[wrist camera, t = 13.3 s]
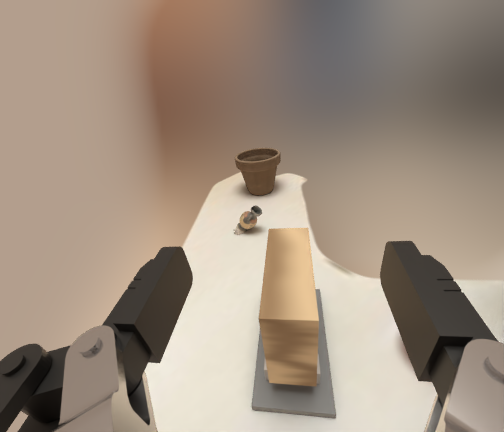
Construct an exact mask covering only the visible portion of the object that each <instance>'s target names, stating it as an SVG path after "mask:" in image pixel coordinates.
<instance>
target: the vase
mask: <svg viewBox="0 0 504 432" xmlns="http://www.w3.org/2000/svg"><path fill="white" fill-rule="evenodd" d="M261 214H262V210H261V209H260V208H259V207H258V206H253V207H252V208H251V212H249V211H247V212H244V213H243V214H242V215H241V217H240V223H238V225H237V228H235V230H234V231H235V232H234V233H235V234H237V235H238V234H239V235H240V234H241V233H242V234H243V232H245V231H246V230H247V229H250V228H252V227H254V226H255V224H256V223H257V217H256V216H260V215H261Z"/></svg>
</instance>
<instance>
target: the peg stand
mask: <svg viewBox="0 0 504 432" xmlns="http://www.w3.org/2000/svg"><path fill="white" fill-rule="evenodd" d="M315 291H316V300H317V308H318V317H319V333H318V360H317V387H316V386H303V385H290V384H277V383H269V378H268V372H267V366H266V359H265V353H264V347H263V341H262V335H261V329H260V334H259V343H258V353H257V362H256V371H255V380H254V389H253V399H252V409H253V410H261V411H270V412H280V413H290V414H300V415H310V416H320V417H330V418H335V417H336V412H335V404H334V396H333V388H332V381H331V373H330V365H329V358H328V350H327V342H326V334H325V327H324V319H323V311H322V303H321V296H320V289H315Z"/></svg>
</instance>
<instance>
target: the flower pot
mask: <svg viewBox="0 0 504 432" xmlns="http://www.w3.org/2000/svg"><path fill="white" fill-rule="evenodd" d="M235 162H236V167H237V168H238V169H240V170H241V173H242V175H243V178H244V180H245V183H246V186H247V188H248V190H249V192H250V193H251V194H254V195H264V194H268V193H270V192H271V191H272V190H273V186H274V181H275V175H276V169H277V165H278V164H279V163H280V152H279V151H278V150H276V149H272V148H257V149H250V150H247V151H243V152H241V153H239V154H237V155H236V157H235Z"/></svg>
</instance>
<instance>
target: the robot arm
mask: <svg viewBox="0 0 504 432" xmlns="http://www.w3.org/2000/svg"><path fill="white" fill-rule="evenodd" d="M380 278H381V285H382V288H383V291H384V293H385V296H386V298H387V301H388V304H389V306H390V309H391V311H392V314H393V317H394V319H395V322H396V324H397V327H398V329H399V332H400V335H401V337H402V340H403V342H404V345H405V348H406V350H407V353H408V355H409V358H410V360H411V363H412V366H413V368H414V371H415V373H416V376H417V379H418V381H428V382H433V385H434V387H435V389H436V392H437V395H436V397H435V400H434V403H433V406H432V409H431V412H430V415H429V418H428V421H427V424H426V427H425V430H424V432H504V344H502V343H500V342H498V341H497V339H496V338H495V337H494V335H493V334H492V333H491V331H490V330H489V328H488V327H487V326H486V324H485V323H484V321H483V320H482V318H481V317H480V316H479V314H478V313H477V311H476V310H475V309H474V307H473V306H472V304H471V303H470V302H469V300H468V299H467V297H466V296H465V294H464V293H462V292H461V289H460V287H459V286H458V285H457V283H456V282H454V281H453V278H452V276H451V275H450V273H449V272H448V270H447V269H446V268H445V266H444V265H442V264H441V263H440V262H438V261H437V260H436V259H434V258H433V257H432V256H430V255H421V254H420V252H419V250H418V249H417V247H416V246H415V244H414V243H413V242H412V241H393V242H392V241H391V242H387V243H386V246H385V251H384V256H383V261H382V266H381V272H380ZM192 280H193V276H192V271H191V268H190V266H189V263H188V261H187V258H186V255H185V253H184V250H183V248H182V247H163V248H161V250H160V251H159V252H158V254H157V255H156V257H155V258H154V259H151V260H150V261H149V262H147V263H146V264H145V265H144V266H143V267H142V268H140V270H139V272H138V273H137V274H136V276H135V277H134V281H132V282H131V284H130V285H129V286H128V289H127V290H126V291H125V292H124V294H123V295H122V297H121V298H120V300H119V301H118V303H117V304H116V305H115V307H114V309H113V310H112V311H111V313H110V314H109V316H108V317H107V319H106V320H105V322H104V323H103V325H102V326H97V327H94V328H92V329H90V330H88V331H86V332H85V333H83V334H82V335H81V336H79V337H78V338H77V339H76V340H75V341H74V342H73V344H72V345H71V346H67V347H63V348H60V349H57V350H53V351H49V352H46V351H45V350H44V349H43V348H42V347H41V346H40V345H38V344H28V345H25V346H23V347H20V348H18V349H16V350H15V351H13V352H11V353H10V354H8V355H7V356H6V357H5V358H4V359H2V360H1V361H0V432H6V431H7V430H8V428H9V427H10V425H11V424H12V423H13V421H14V420H15V418H16V417H17V415H18V414H19V412H20V411H22V412H24V413H25V414H27V415H28V417H27V419H26V420H25V422H24V423H23V425H22V426H21V428H20V429H19V431H18V432H158V431H157V428H156V424H155V419H154V413H153V408H152V403H151V398H150V393H149V387H148V382H147V377H146V373H145V372H144V370H145V368H146V366H147V364H148V362H151V363H160V362H161V359H162V357H163V354H164V352H165V349H166V347H167V345H168V342H169V340H170V337H171V335H172V332H173V330H174V327H175V325H176V323H177V320H178V318H179V315H180V313H181V310H182V308H183V305H184V303H185V301H186V298H187V296H188V293H189V291H190V288H191V286H192Z"/></svg>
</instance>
